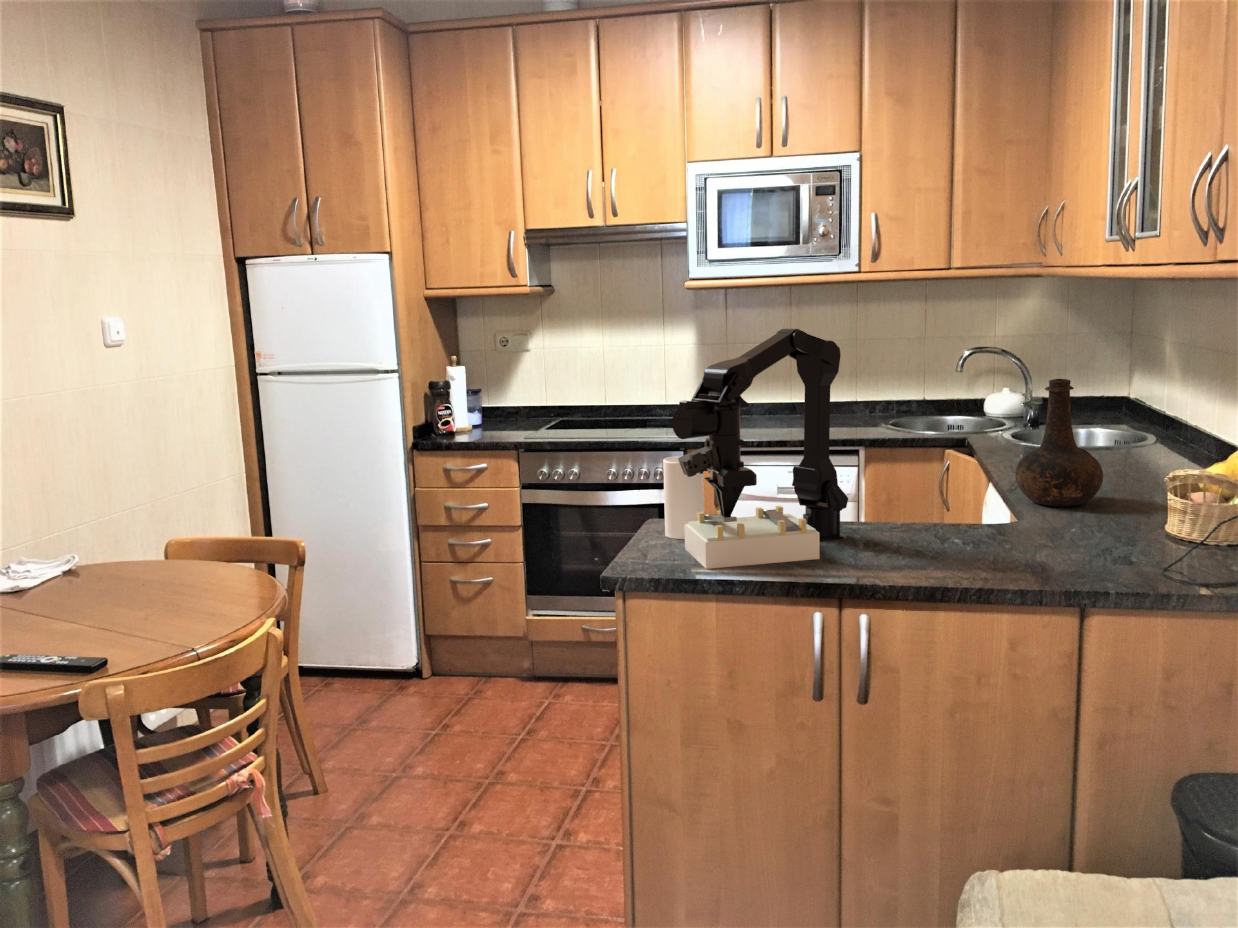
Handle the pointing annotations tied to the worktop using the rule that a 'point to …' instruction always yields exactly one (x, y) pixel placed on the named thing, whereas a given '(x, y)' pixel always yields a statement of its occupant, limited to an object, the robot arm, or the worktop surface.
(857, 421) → the worktop surface
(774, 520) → the strap
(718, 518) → the strap
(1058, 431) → the glass bottle
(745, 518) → the storage box
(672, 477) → the cup
